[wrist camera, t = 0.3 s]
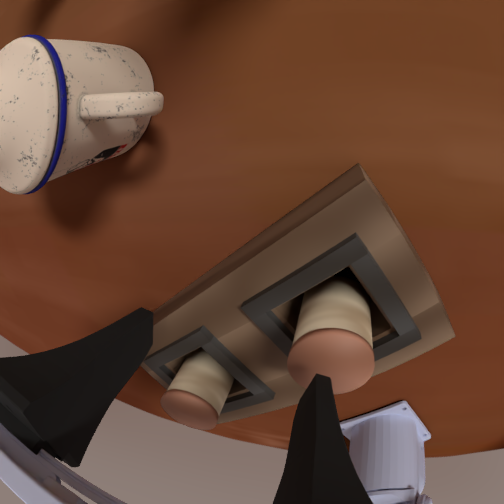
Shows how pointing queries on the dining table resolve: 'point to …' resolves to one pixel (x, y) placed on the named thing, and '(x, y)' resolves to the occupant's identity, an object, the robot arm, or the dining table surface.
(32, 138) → the teacup with lid
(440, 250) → the dining table surface
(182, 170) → the dining table surface
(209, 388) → the peg
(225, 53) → the dining table surface
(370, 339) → the peg
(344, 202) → the walnut block
